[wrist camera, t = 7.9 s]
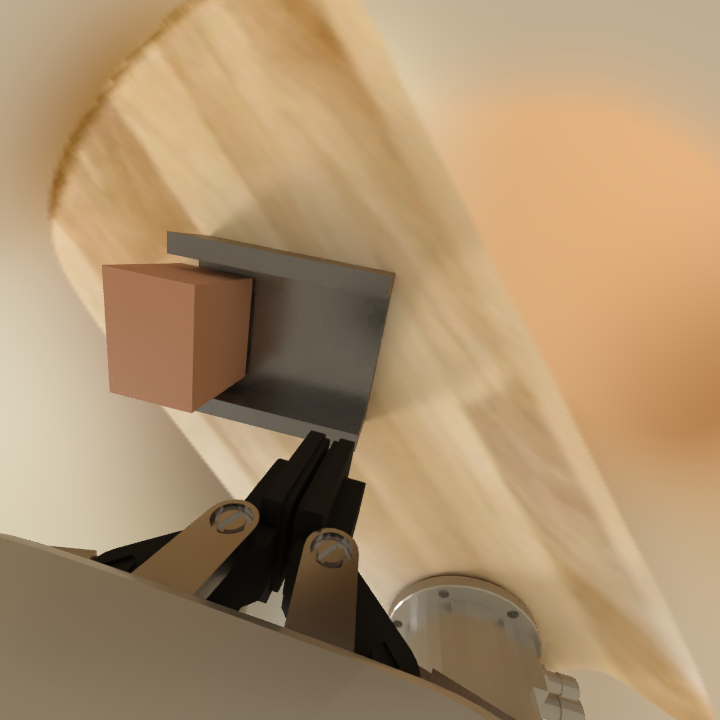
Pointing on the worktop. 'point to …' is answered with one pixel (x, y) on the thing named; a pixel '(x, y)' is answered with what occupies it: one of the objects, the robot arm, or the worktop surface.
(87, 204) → the worktop surface
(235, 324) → the block
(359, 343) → the chute
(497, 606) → the robot arm
